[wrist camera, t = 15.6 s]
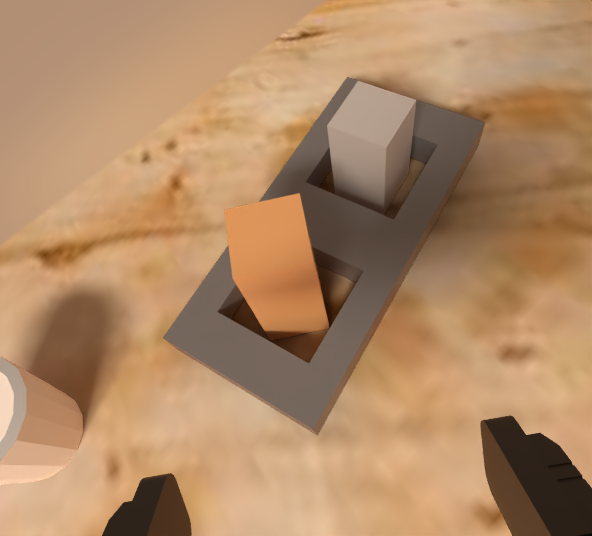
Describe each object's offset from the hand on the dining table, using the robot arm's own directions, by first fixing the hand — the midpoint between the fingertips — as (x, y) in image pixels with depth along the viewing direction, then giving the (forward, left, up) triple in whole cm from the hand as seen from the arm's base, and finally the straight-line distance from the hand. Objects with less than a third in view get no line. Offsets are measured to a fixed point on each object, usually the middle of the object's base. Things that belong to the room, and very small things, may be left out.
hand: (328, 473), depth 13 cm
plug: (-8, -9, -17) cm, 21 cm away
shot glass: (+7, -19, -18) cm, 27 cm away
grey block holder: (-14, -9, -17) cm, 24 cm away
